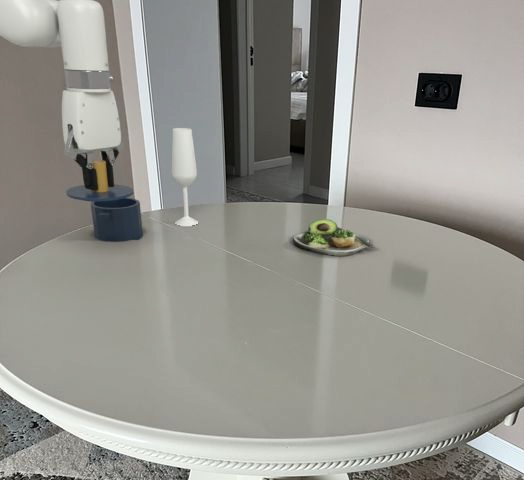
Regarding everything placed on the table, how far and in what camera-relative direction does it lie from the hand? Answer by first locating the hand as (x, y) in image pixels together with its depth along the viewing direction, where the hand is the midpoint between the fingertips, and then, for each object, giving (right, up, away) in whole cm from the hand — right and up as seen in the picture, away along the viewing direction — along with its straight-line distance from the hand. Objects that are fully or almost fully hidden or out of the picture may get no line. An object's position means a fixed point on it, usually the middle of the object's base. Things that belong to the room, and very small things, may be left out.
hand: (99, 186), depth 103 cm
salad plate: (+48, -6, +29) cm, 57 cm away
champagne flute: (+11, +3, +43) cm, 45 cm away
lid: (0, -1, +1) cm, 1 cm away
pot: (-5, -3, +31) cm, 31 cm away
